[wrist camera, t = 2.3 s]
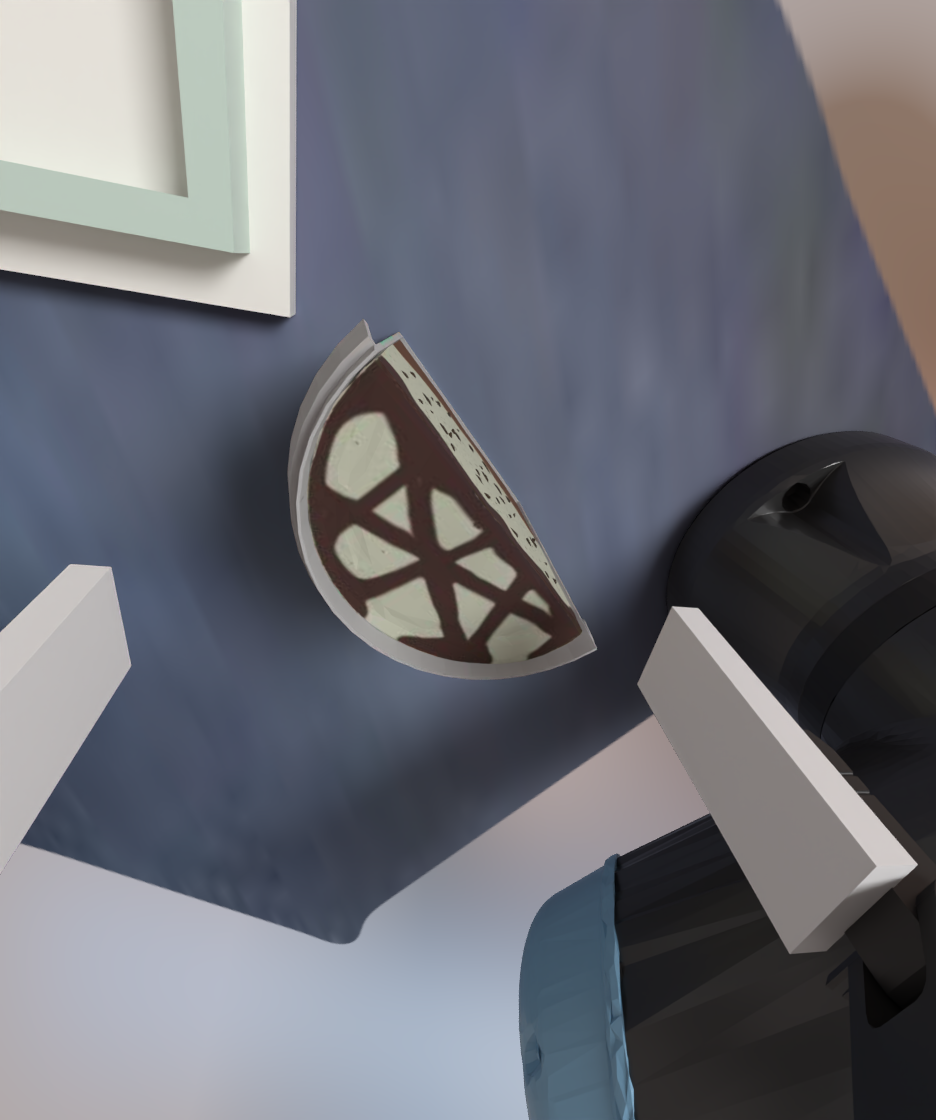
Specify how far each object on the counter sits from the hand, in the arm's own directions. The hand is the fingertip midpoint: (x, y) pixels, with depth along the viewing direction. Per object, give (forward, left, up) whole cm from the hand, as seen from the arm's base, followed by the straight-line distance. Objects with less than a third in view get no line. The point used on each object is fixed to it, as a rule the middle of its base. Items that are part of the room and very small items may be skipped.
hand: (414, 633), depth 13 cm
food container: (0, 0, -13) cm, 13 cm away
